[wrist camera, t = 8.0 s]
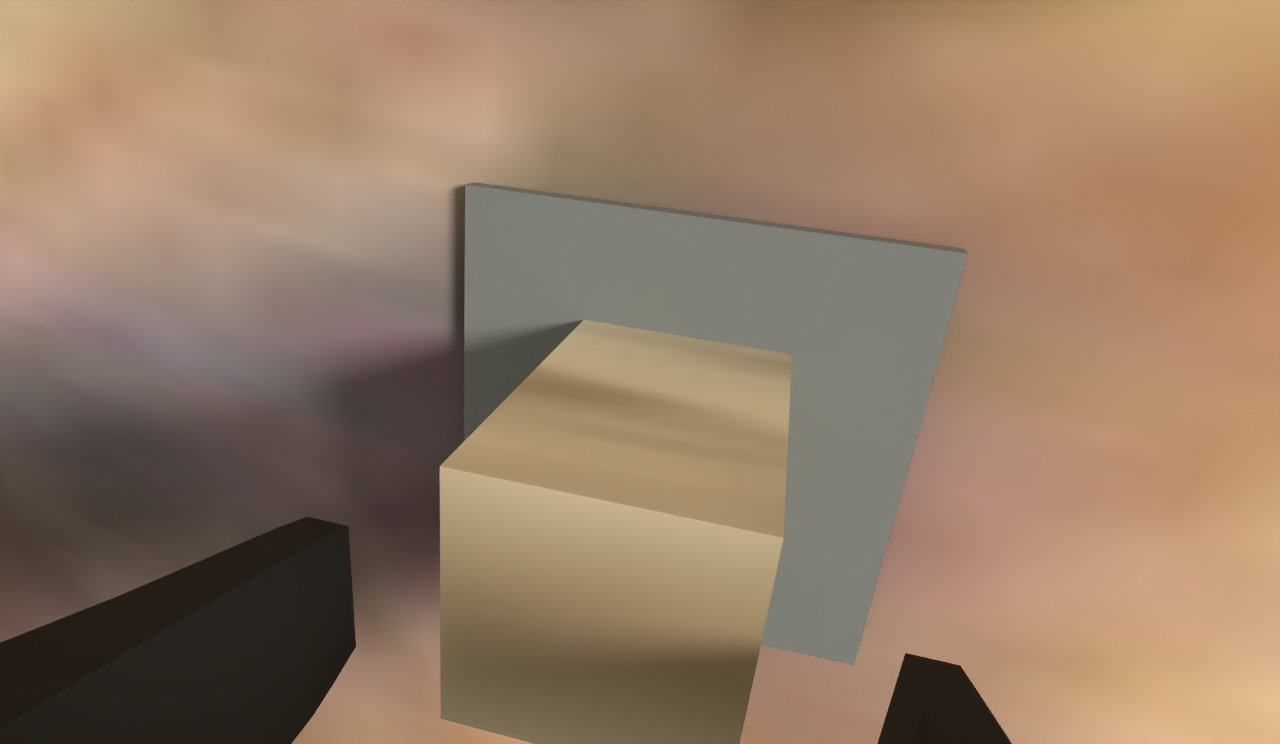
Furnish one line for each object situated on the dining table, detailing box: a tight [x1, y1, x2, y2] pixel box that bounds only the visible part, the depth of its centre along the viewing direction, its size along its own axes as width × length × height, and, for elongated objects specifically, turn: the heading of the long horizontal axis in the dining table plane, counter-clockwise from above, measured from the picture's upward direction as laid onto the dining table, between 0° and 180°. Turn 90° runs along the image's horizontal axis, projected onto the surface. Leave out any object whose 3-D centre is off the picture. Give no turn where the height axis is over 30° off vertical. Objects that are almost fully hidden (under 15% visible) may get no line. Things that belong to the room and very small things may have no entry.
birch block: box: [440, 320, 792, 744], centre depth 11 cm, size 4×4×6 cm
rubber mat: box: [464, 183, 968, 665], centre depth 14 cm, size 9×9×1 cm
